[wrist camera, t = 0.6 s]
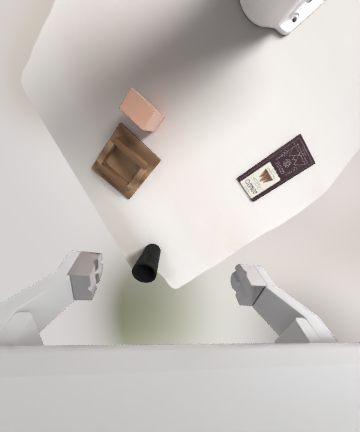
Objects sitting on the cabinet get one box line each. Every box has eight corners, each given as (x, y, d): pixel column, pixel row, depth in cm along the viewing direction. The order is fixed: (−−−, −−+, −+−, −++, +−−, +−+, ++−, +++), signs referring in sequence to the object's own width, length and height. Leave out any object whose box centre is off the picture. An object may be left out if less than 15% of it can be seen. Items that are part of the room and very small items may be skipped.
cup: (155, 261, 65) (147, 286, 54) (139, 250, 63) (127, 274, 52) (167, 249, 62) (161, 273, 51) (150, 237, 60) (140, 259, 49)
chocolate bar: (315, 163, 45) (253, 201, 51) (313, 162, 46) (252, 200, 52) (300, 134, 42) (237, 178, 48) (298, 134, 43) (236, 177, 49)
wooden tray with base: (121, 123, 45) (115, 122, 42) (161, 160, 49) (158, 161, 45) (93, 167, 51) (85, 170, 48) (130, 198, 54) (125, 202, 51)
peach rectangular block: (146, 99, 43) (131, 87, 33) (164, 117, 44) (155, 111, 34) (136, 114, 44) (119, 107, 34) (153, 131, 46) (142, 130, 36)
